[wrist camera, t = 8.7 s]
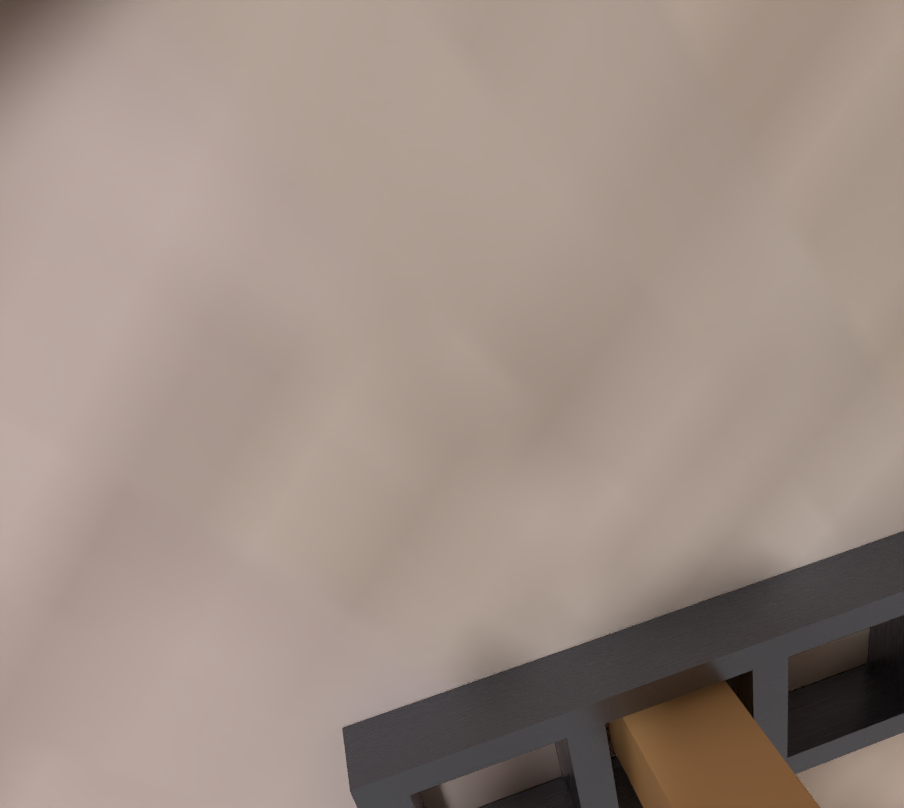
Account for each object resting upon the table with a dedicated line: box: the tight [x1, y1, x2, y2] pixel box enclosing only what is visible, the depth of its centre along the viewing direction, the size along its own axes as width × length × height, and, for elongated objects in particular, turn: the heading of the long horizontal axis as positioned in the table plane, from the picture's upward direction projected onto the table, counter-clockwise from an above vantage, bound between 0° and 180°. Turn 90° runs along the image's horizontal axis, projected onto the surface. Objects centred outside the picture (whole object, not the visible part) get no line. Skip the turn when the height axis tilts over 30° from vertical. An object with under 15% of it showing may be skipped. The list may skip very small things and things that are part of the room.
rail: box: [342, 532, 904, 808], centre depth 28 cm, size 23×8×2 cm, turn 102°
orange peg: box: [608, 680, 820, 808], centre depth 25 cm, size 4×4×9 cm
